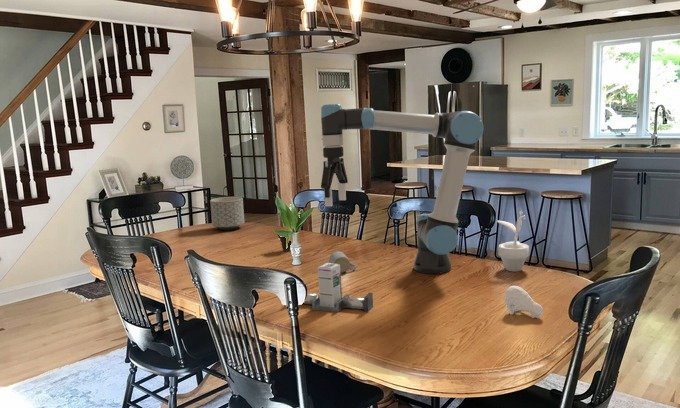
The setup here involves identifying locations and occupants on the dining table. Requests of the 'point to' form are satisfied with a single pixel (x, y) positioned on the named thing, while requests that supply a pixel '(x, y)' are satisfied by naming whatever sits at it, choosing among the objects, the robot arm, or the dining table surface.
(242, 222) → the planter
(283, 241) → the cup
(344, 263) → the ceramic mug
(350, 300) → the coupling cradle
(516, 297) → the white lumpy piece
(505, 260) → the potted plant
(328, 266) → the syrup box
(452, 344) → the dining table surface
